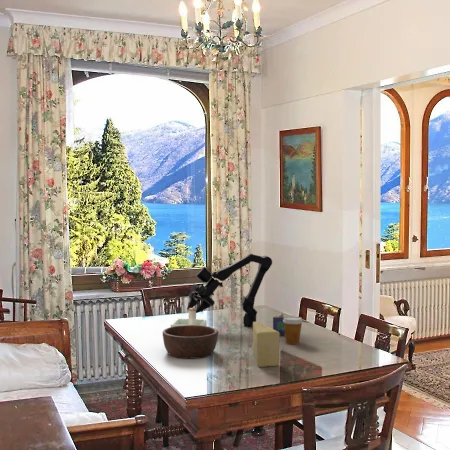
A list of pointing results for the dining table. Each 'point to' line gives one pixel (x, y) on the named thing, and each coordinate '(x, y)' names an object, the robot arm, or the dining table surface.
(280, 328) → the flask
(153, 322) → the dining table surface
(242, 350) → the dining table surface
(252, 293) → the robot arm
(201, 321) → the bin
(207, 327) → the wooden bowl
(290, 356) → the dining table surface
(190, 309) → the jar
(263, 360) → the cheese
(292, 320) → the disposable coffee cup
